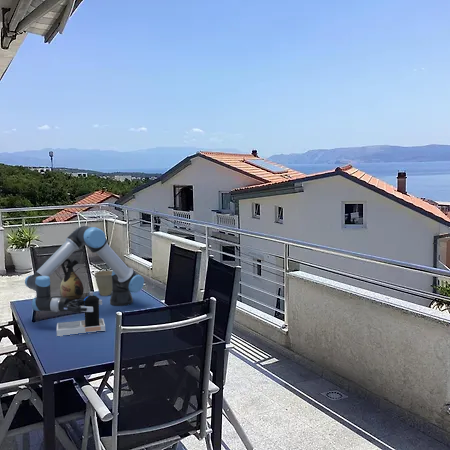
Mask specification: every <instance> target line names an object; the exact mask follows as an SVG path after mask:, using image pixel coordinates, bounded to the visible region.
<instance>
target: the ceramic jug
mask: <svg viewBox="0 0 450 450" xmlns="http://www.w3.org/2000/svg"><path fill="white" fill-rule="evenodd" d="M65 263H67V264H66V266H65ZM78 264H79V261H77V260H76V259H70V258H67V259H66V260H65V261H64V262H63V263H62V264H61V265H60V266H61V268H62V269H61V270H62V271H63V273H64V277H63V278H62V280H61V282H60V286H59V295H60V298H68V299H69V301H70V302H71V301H73V300H74V299H75V300H78V299H82V296H83V294H84V292H85V291H84V289H85V288H84V285H83V282H82V280H81V278H80V276H78V274H76V272H75V271H74V267H75V266H77V265H78Z"/></svg>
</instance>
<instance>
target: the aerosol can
mask: <svg viewBox="0 0 450 450" xmlns="http://www.w3.org/2000/svg"><path fill="white" fill-rule="evenodd" d="M83 299H84V305H83V306H84V307H93V312H84V320H85V327H91V326H100V325H99V319H100V305H99V300H100V298H99V297H98V296H97V295H94V291H89V295H88V296H85V298H83Z"/></svg>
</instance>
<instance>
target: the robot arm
mask: <svg viewBox="0 0 450 450" xmlns="http://www.w3.org/2000/svg"><path fill="white" fill-rule="evenodd" d="M83 246H85V247H87V248H88V250H89V251H90V252H91V253H94V254H96V255H98V256H99V258H100V259H101V260H102V261H103V262H104V263H105V264H106V265H107V267H108V268H109V269H110V271H112V293H111V295H110V298H109V304H110V305H111V306H116V307H123V306H124V305H125V306H129V305H132V304H133V303H134V298H133V296H132V293H135V294H136V293H139V292H140V291H141V290H142V289H143V287H144V285H145V278H144V277H143V276H142V275H140V274H138V273H137V272H136V271H135V269H133V268H132V267H129V266H127V265H126V263H125V262H124V261H123V260H122V259H121V258H120V256H119V255H118V254H117V253H116V252H115V251H114V249H113V248H111V246H110V245H109V244H108V239H107V238H106V233H105V231H103V230H102V229H101V228H98V227H96V226H95V227H94V226H89V225H82V226H79V227H78V228H76V229H75V230H74V231H72V233H70V234H69V235H68V236H67V237H66V238H65V242H63V244H62V245H60V247H59V248H58V249H57V250H55V252H54V253H53V254H52V255H51V256H49V258H48V259H46V261H45V262H44V263H43V264H42V265H41V266H40V267H39V268H38V269H37V270H36V271H35V272H34V273H33V274H31V275H30V274H29V275H28V276H26V277H25V280H24V284H25V286H26V287H27V288H28V289H30V290H33V291H34V292H35V297H34V298H32V301H31V309H32V310H33V311H38V312H54V313H57V312H62V313H65V312H71V313H74V314H81V313H85V312H93V307H85V305H84V299H85V298H80V299H78V300H75V299H74V300H73V301H71V302H70V301H69V299H68V298H62V297H52V294H51V276H52V274H53V273H55V271H56V270H57V269H58V268H59V267H60V266H61V264H62V263H63V262H64V261H65V260H66V259H69V257H70V256H71V255H72V254H74V253H75V251H76V250H79V249H81V247H83ZM131 303H132V304H131ZM128 304H129V305H128ZM102 305H103V299H99V306H102ZM125 306H124V307H125Z"/></svg>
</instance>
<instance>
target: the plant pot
mask: <svg viewBox="0 0 450 450" xmlns="http://www.w3.org/2000/svg"><path fill="white" fill-rule="evenodd" d="M94 278H95V282H96V287H97V291H98V292H99V295H100V296H102V297H108V295H109V296H111V295H112V270H99V271H96V272H95V273H94Z"/></svg>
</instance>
